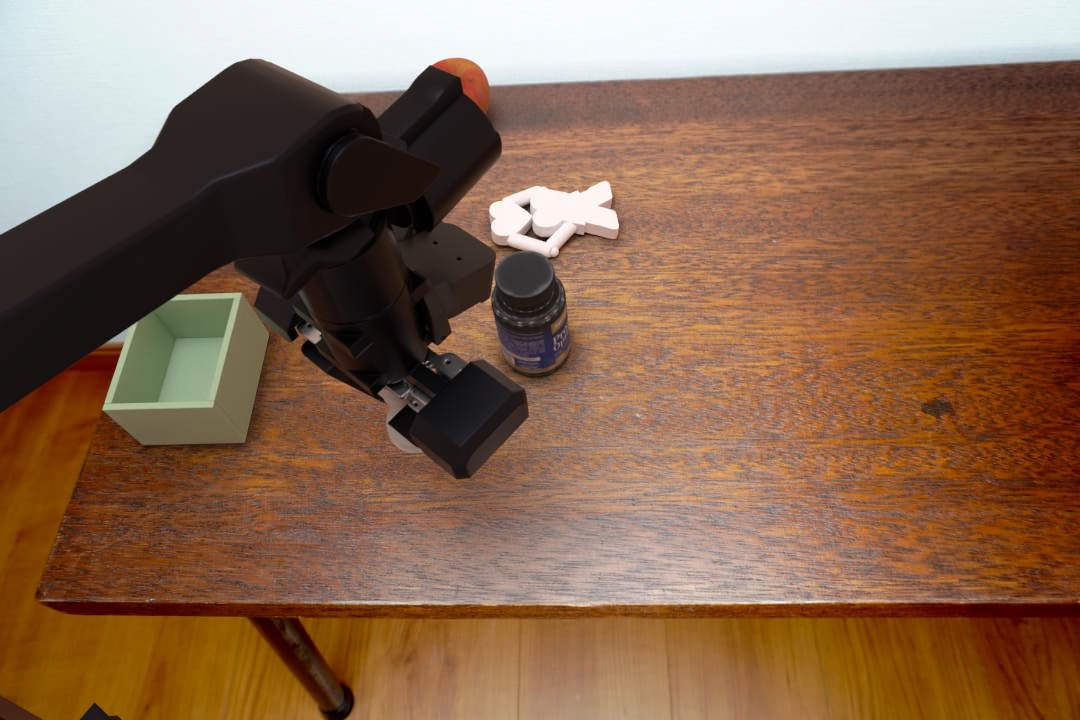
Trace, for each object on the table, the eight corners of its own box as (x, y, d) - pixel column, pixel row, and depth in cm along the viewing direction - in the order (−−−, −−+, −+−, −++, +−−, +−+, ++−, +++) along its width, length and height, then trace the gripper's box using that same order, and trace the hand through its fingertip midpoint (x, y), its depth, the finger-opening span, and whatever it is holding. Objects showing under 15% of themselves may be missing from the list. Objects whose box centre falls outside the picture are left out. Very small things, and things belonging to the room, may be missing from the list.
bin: (245, 443, 70) (212, 407, 65) (142, 445, 71) (101, 410, 65) (269, 333, 76) (241, 292, 70) (174, 336, 77) (139, 295, 71)
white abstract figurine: (486, 195, 82) (486, 180, 80) (604, 187, 83) (606, 172, 81) (494, 264, 77) (494, 250, 76) (619, 254, 78) (622, 240, 77)
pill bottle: (571, 377, 71) (563, 304, 62) (501, 379, 71) (483, 307, 62) (570, 318, 74) (563, 240, 65) (503, 321, 75) (487, 244, 65)
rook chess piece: (397, 397, 60) (370, 338, 53) (456, 403, 59) (436, 344, 53) (382, 452, 58) (351, 397, 51) (443, 459, 57) (420, 405, 50)
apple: (486, 93, 91) (475, 32, 84) (502, 138, 87) (492, 77, 80) (421, 110, 90) (405, 49, 83) (435, 155, 86) (419, 95, 79)
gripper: (584, 270, 43) (591, 410, 56) (349, 123, 50) (404, 278, 64) (436, 417, 39) (481, 531, 52) (205, 235, 46) (295, 375, 60)
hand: (414, 416), depth 57 cm, fingers closed on rook chess piece, 4 cm apart
